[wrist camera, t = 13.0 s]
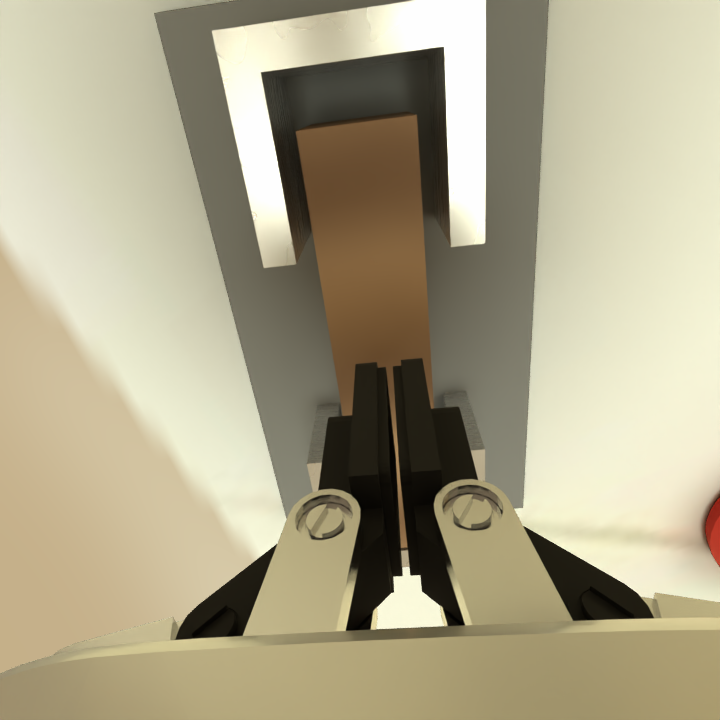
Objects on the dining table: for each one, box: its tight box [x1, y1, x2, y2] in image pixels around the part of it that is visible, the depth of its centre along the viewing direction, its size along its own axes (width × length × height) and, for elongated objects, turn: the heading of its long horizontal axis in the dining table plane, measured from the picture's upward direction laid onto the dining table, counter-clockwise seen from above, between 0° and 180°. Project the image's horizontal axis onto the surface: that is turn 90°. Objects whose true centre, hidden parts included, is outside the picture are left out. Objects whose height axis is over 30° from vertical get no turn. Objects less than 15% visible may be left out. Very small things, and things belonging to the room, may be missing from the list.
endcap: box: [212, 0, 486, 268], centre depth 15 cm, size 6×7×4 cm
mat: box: [154, 0, 549, 518], centre depth 20 cm, size 22×12×1 cm, turn 7°
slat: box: [296, 111, 434, 548], centre depth 18 cm, size 16×3×4 cm, turn 7°
